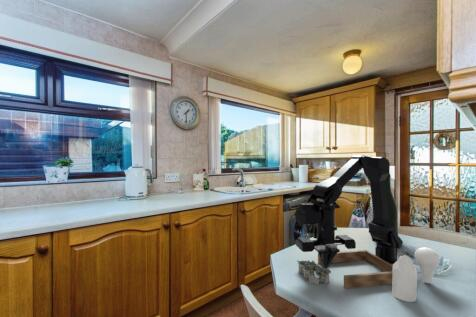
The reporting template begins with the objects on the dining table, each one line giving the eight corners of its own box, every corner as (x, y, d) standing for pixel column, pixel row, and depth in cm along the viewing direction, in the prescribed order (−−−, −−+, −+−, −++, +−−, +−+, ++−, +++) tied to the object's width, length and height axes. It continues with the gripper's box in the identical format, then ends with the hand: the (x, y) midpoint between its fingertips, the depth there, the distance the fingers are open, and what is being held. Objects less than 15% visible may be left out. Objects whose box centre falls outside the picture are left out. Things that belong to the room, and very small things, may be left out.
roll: (407, 250, 68) (423, 258, 62) (406, 290, 68) (423, 302, 63) (387, 250, 68) (402, 259, 62) (387, 291, 68) (401, 303, 62)
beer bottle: (403, 245, 103) (404, 171, 102) (380, 245, 103) (380, 171, 102) (388, 236, 113) (389, 169, 113) (367, 236, 113) (367, 170, 113)
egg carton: (332, 284, 72) (332, 271, 72) (310, 287, 71) (310, 273, 71) (315, 267, 83) (315, 256, 83) (295, 269, 81) (295, 258, 81)
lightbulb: (441, 290, 68) (442, 253, 68) (415, 284, 71) (415, 249, 71) (437, 281, 73) (437, 246, 73) (413, 275, 76) (413, 242, 76)
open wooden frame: (366, 259, 89) (366, 250, 89) (404, 283, 72) (404, 271, 72) (317, 262, 86) (317, 253, 86) (345, 288, 69) (345, 277, 69)
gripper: (337, 214, 86) (337, 256, 86) (289, 216, 84) (289, 259, 84) (356, 223, 75) (356, 270, 75) (303, 226, 72) (303, 275, 73)
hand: (325, 268), depth 77 cm, fingers closed
